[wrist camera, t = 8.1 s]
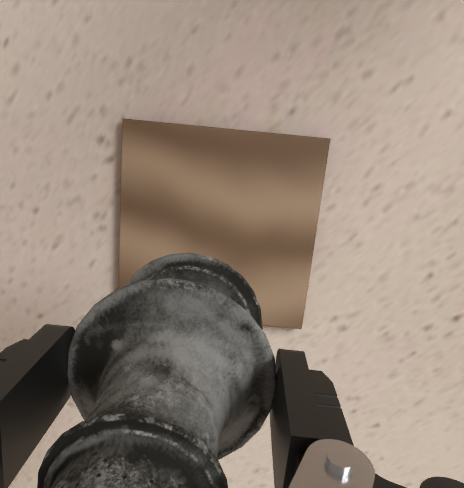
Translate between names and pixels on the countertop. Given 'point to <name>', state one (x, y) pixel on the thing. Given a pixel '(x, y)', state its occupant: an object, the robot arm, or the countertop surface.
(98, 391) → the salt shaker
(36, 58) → the countertop surface
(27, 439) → the robot arm
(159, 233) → the walnut pad
